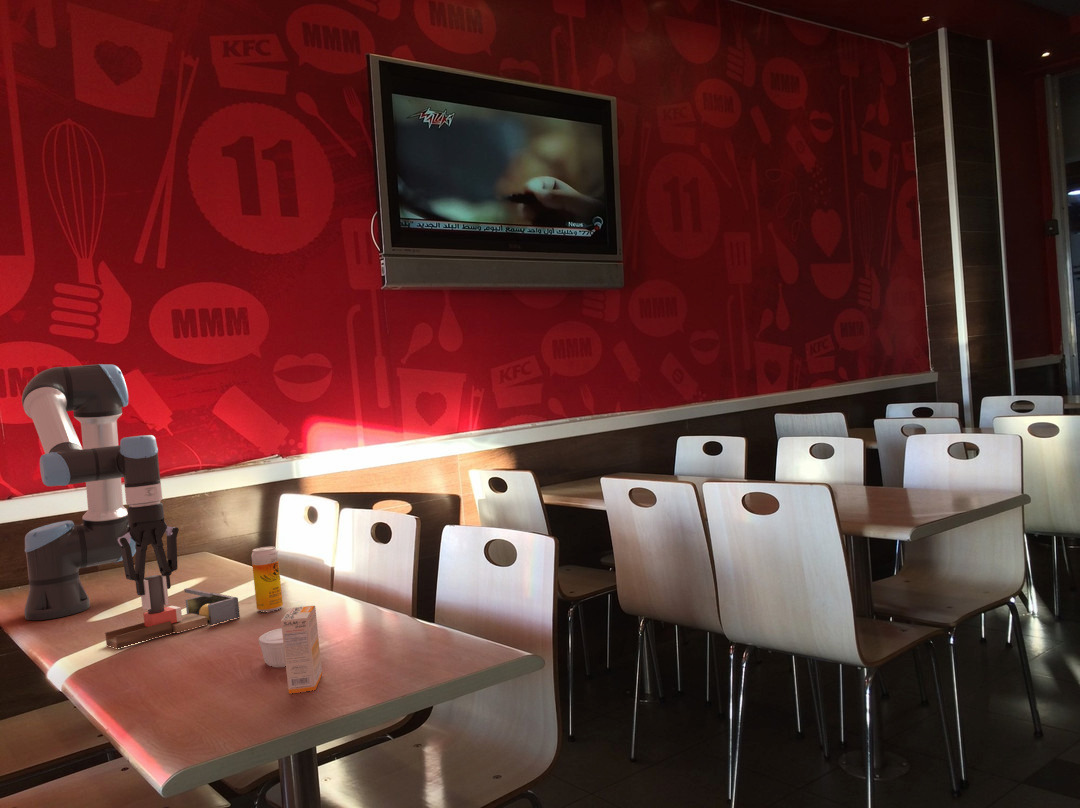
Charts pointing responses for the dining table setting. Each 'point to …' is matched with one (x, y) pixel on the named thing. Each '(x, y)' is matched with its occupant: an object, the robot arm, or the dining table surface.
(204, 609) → the ball
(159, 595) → the post on red base
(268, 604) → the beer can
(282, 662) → the ramekin
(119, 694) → the dining table surface
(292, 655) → the supplement box
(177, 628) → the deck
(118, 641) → the rail
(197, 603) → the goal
